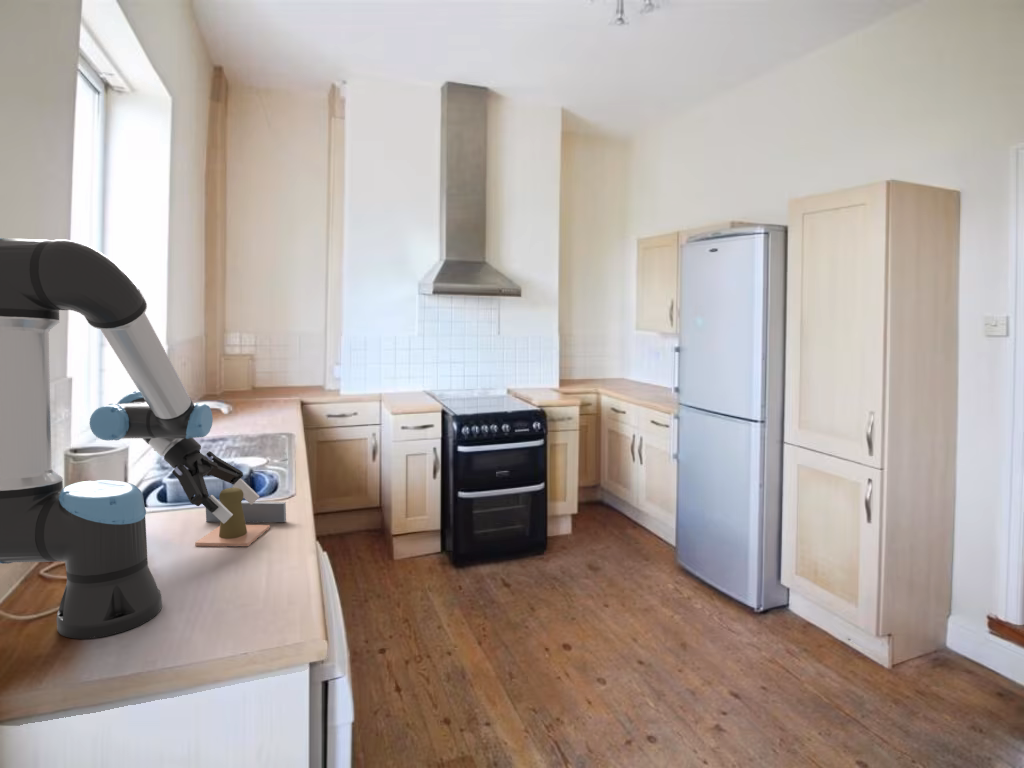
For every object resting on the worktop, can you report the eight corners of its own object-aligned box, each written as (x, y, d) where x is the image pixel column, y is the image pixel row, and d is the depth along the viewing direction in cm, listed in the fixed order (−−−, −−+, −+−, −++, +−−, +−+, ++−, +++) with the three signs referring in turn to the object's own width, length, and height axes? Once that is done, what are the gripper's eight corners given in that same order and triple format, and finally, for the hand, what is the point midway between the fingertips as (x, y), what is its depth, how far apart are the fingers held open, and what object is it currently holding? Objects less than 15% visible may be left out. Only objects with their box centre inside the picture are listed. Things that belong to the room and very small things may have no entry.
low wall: (284, 522, 151) (283, 503, 151) (206, 521, 152) (205, 502, 151) (286, 521, 152) (285, 502, 152) (208, 520, 153) (207, 501, 152)
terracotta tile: (247, 546, 135) (247, 543, 135) (195, 545, 136) (195, 542, 136) (269, 528, 147) (269, 525, 147) (221, 527, 148) (221, 524, 147)
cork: (252, 530, 144) (250, 485, 143) (238, 539, 138) (236, 493, 137) (228, 528, 144) (226, 484, 143) (213, 538, 138) (211, 491, 137)
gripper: (195, 445, 152) (255, 503, 153) (130, 470, 127) (203, 539, 129) (214, 425, 151) (275, 484, 153) (154, 446, 127) (227, 516, 128)
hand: (242, 509), depth 141 cm, fingers open, 13 cm apart
